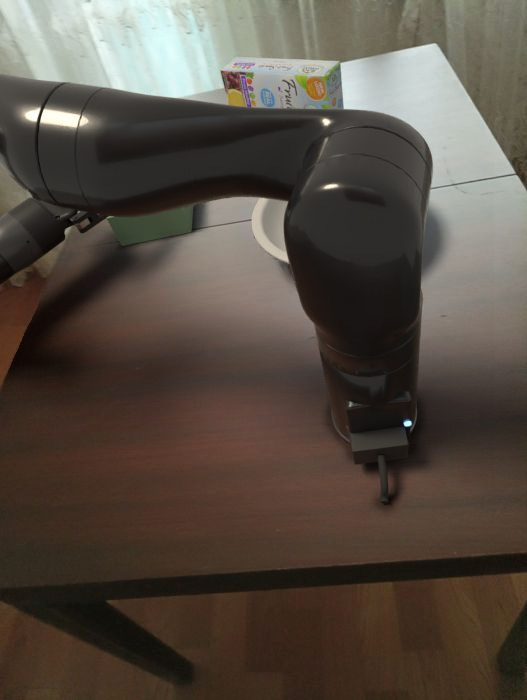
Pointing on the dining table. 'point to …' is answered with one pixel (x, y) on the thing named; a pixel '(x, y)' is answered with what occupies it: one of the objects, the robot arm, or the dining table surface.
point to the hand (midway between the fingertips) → (108, 176)
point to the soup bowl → (270, 227)
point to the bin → (152, 226)
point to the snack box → (283, 83)
